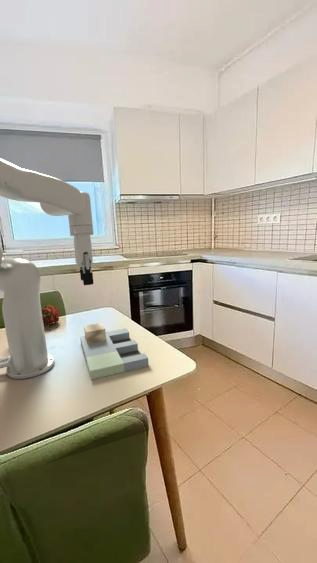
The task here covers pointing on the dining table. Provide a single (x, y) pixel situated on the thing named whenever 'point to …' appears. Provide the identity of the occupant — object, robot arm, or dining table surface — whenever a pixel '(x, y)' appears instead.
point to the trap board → (113, 354)
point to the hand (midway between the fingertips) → (87, 281)
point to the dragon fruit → (50, 314)
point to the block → (95, 333)
